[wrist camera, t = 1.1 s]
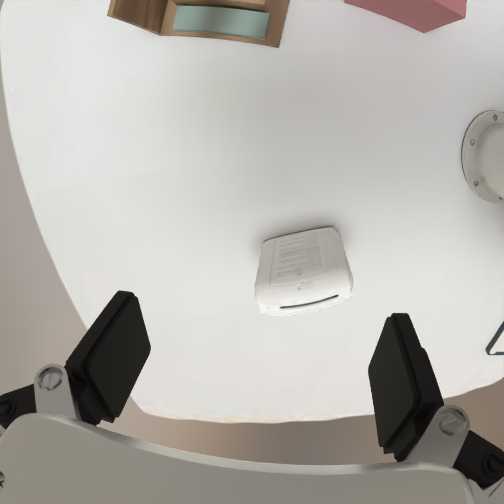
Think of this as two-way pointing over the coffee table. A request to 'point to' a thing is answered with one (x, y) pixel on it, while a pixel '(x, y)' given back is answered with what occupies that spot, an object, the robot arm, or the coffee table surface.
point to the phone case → (497, 343)
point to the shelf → (168, 8)
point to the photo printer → (303, 273)
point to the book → (417, 11)
